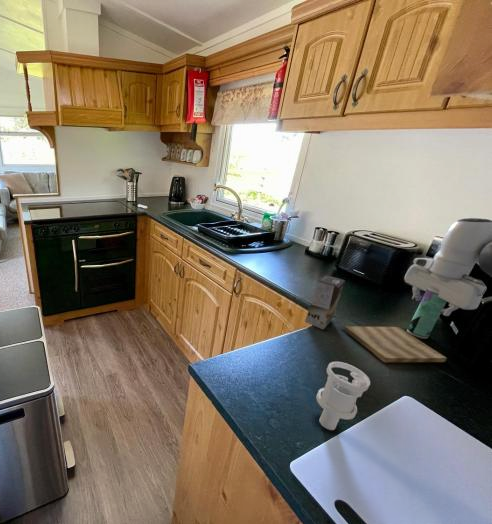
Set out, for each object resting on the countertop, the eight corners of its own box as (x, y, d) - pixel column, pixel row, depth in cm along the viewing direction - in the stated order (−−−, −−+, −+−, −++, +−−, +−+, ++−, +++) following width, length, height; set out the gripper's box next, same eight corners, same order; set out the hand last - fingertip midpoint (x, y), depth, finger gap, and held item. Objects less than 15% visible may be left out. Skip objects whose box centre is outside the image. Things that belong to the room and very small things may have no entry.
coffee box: (324, 330, 97) (339, 287, 91) (304, 322, 101) (317, 280, 95) (331, 321, 103) (346, 280, 97) (312, 313, 107) (325, 274, 101)
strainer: (323, 439, 59) (347, 383, 53) (302, 410, 65) (322, 357, 60) (354, 438, 60) (382, 382, 54) (330, 409, 66) (352, 356, 61)
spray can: (427, 334, 100) (454, 281, 92) (428, 340, 96) (456, 287, 88) (406, 327, 103) (431, 276, 95) (407, 333, 99) (432, 281, 91)
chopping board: (396, 330, 100) (397, 326, 100) (444, 362, 86) (447, 358, 85) (343, 329, 98) (345, 326, 98) (384, 362, 83) (386, 358, 83)
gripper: (498, 283, 81) (473, 325, 86) (426, 257, 100) (409, 292, 105) (479, 283, 80) (455, 324, 85) (410, 256, 99) (393, 292, 104)
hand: (429, 306), depth 95 cm, fingers open, 8 cm apart
